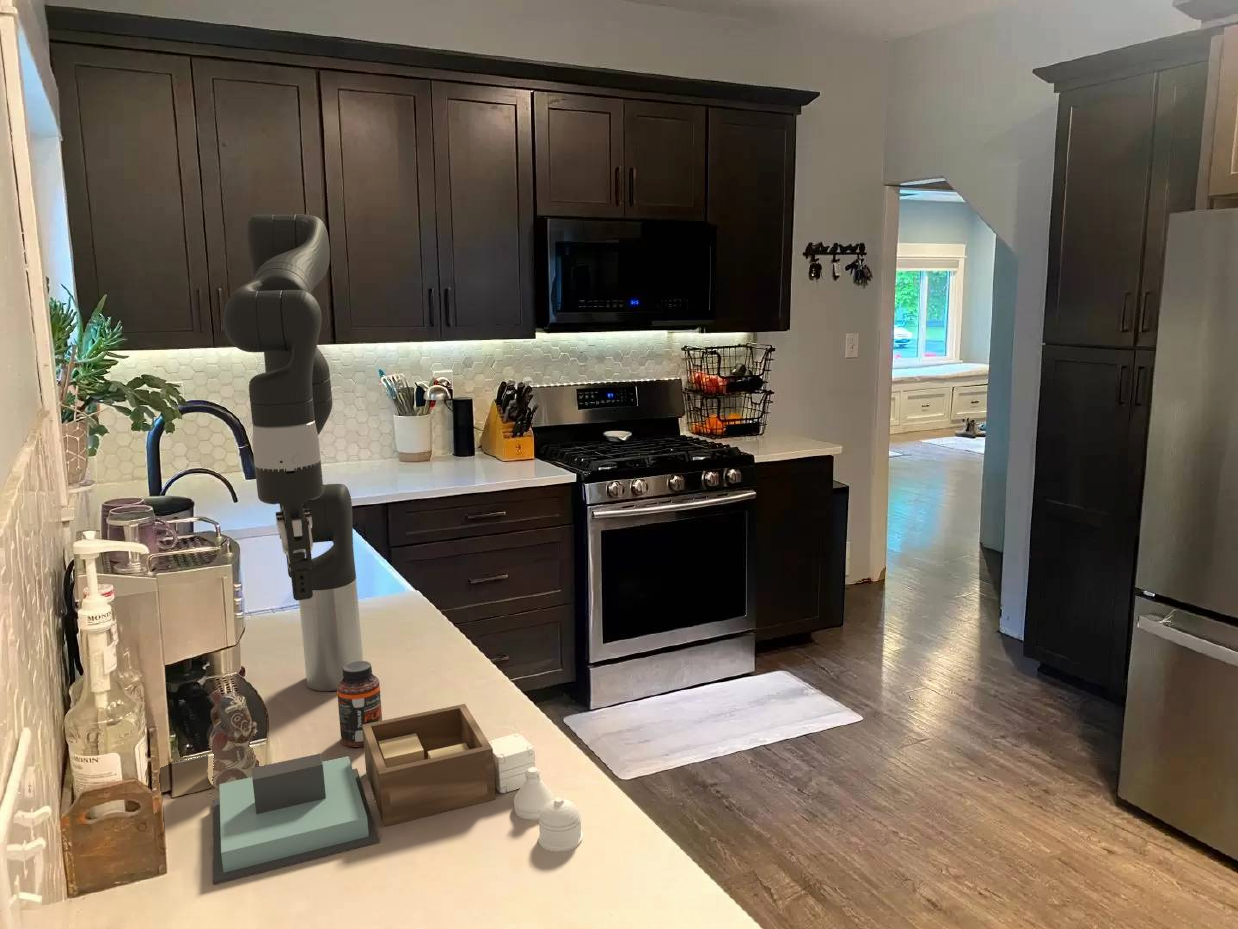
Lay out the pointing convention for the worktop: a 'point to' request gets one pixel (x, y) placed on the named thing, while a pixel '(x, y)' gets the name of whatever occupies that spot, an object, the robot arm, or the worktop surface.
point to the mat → (222, 877)
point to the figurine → (231, 739)
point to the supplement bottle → (357, 701)
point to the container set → (535, 794)
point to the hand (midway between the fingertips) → (300, 587)
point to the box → (427, 764)
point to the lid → (289, 811)
